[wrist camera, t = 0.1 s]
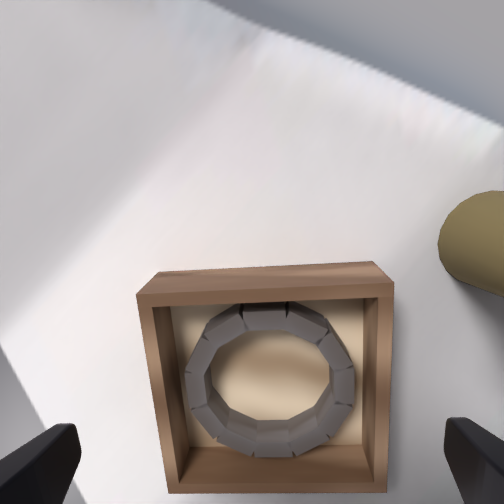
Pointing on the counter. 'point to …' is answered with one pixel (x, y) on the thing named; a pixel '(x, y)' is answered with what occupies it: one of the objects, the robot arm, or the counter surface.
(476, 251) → the olive knobbed peg
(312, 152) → the counter surface
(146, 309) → the socket box
